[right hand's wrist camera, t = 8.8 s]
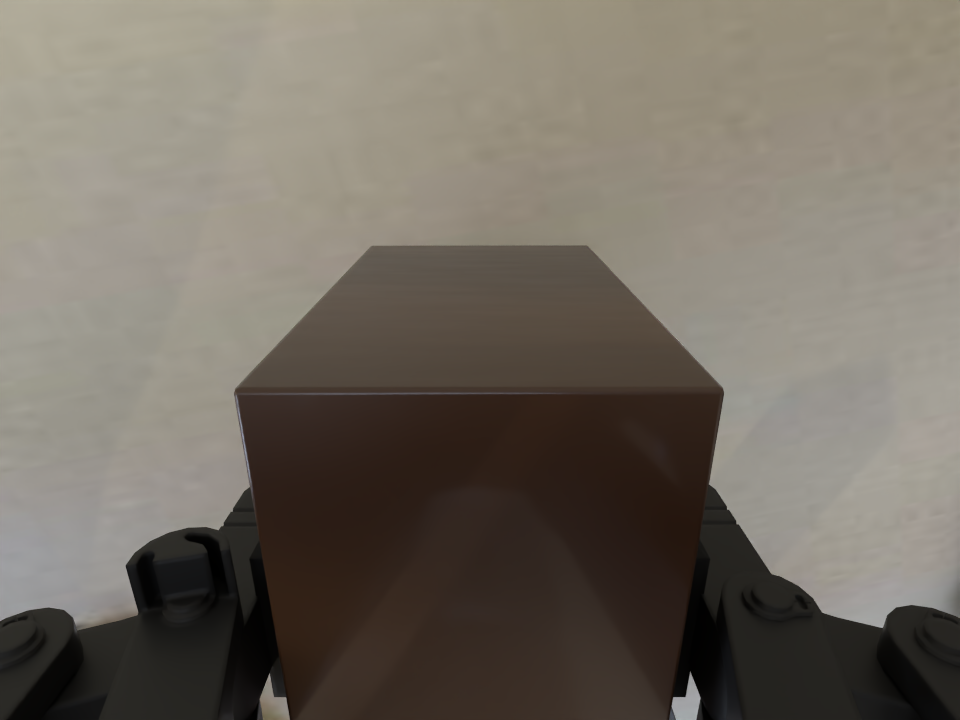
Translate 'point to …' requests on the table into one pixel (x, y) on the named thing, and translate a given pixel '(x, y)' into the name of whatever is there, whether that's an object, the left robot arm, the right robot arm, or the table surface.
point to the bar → (479, 490)
